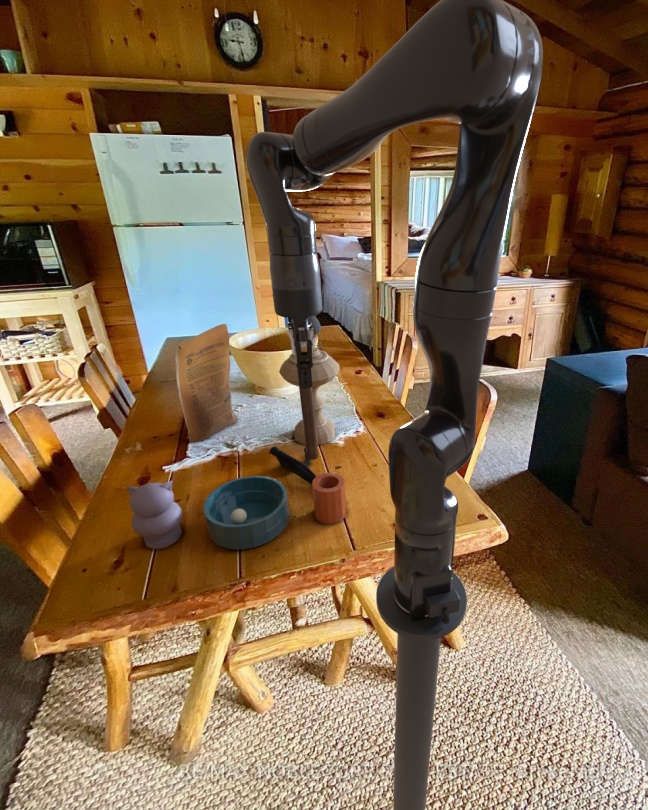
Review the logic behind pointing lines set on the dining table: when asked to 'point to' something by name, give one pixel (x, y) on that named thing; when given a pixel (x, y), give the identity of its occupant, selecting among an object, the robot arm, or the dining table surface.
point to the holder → (329, 498)
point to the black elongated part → (294, 464)
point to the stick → (309, 422)
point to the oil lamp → (314, 386)
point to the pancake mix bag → (205, 382)
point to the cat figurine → (155, 514)
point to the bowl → (247, 512)
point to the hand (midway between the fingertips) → (305, 383)
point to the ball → (238, 516)
